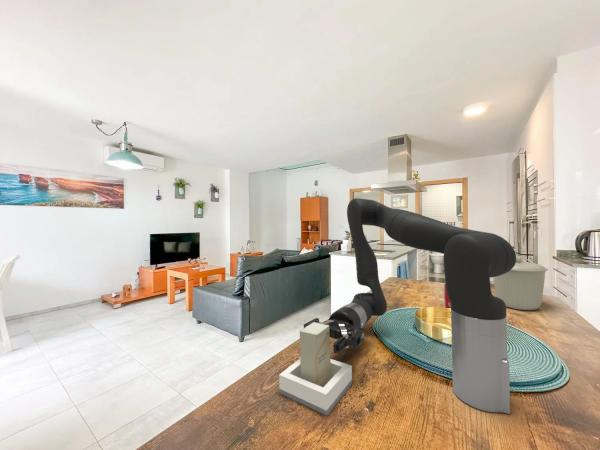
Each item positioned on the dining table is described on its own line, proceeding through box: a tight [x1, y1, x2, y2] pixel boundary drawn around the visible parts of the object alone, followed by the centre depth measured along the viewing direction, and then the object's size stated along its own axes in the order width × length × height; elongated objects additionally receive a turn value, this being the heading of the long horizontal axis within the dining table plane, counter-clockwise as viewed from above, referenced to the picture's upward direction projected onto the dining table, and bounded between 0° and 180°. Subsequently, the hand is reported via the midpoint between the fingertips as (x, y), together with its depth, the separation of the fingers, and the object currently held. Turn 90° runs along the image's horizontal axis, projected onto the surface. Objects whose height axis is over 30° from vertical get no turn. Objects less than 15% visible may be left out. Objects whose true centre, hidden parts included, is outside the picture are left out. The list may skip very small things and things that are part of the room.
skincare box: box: [299, 322, 331, 387], centre depth 55 cm, size 6×4×12 cm
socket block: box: [278, 358, 353, 417], centre depth 55 cm, size 12×12×4 cm
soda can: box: [443, 283, 451, 309], centre depth 100 cm, size 7×7×12 cm
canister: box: [492, 254, 549, 311], centre depth 104 cm, size 18×18×21 cm
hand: (317, 343), depth 55 cm, fingers open, 8 cm apart
